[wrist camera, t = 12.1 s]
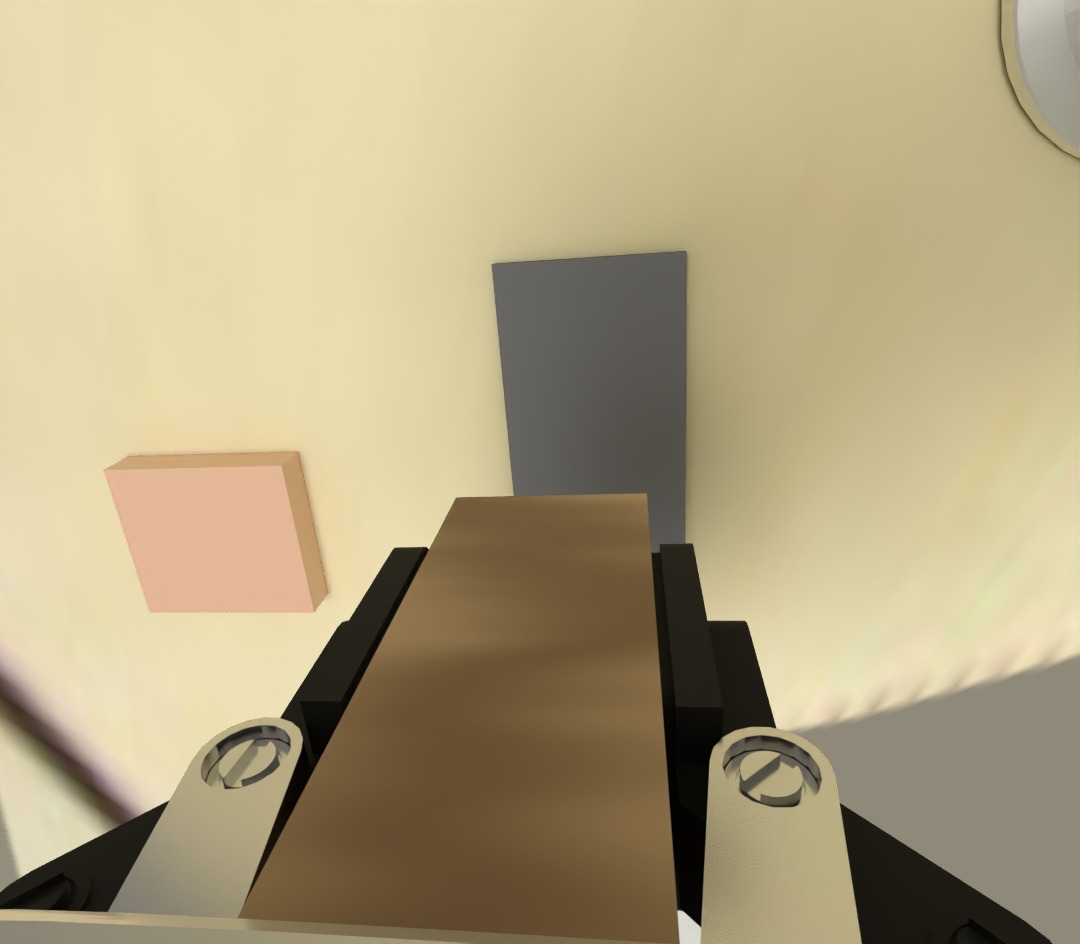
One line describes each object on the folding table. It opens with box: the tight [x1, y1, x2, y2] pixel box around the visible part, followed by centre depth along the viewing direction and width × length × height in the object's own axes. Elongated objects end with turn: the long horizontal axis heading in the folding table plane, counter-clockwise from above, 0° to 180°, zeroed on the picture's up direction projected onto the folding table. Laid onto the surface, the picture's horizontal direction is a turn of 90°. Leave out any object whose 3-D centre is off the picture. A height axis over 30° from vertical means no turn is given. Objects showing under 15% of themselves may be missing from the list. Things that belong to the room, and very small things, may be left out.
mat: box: [492, 251, 686, 553], centre depth 32 cm, size 8×16×1 cm, turn 4°
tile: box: [104, 452, 328, 613], centre depth 36 cm, size 9×2×8 cm
